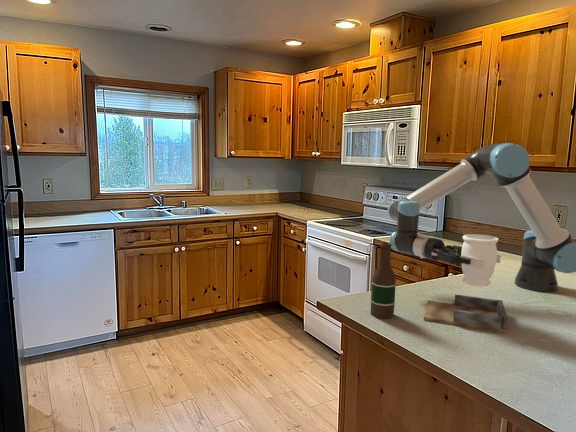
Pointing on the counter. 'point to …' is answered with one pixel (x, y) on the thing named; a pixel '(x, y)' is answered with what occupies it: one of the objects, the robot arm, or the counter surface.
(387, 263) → the beer bottle
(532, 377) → the counter surface
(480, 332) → the counter surface
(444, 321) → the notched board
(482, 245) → the jar
